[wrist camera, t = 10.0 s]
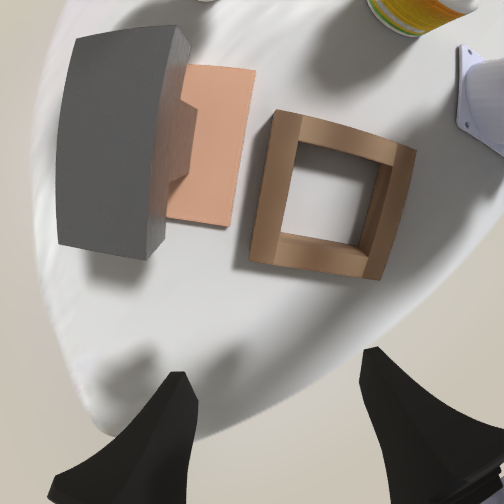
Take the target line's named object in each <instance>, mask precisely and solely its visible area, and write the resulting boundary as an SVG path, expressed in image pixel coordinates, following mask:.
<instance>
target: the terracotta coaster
mask: <svg viewBox="0 0 504 504" xmlns="http://www.w3.org/2000/svg"><path fill="white" fill-rule="evenodd" d="M255 75H256V70H249V69H241V68H232V67H222V66H210V65H192V64H187V67H186V72H185V77H184V82H183V87H182V93H181V98H180V99H181V100H182V101H184V102H186V103H188V104H189V105H191V106H193V107H194V108H196V109H198V113H197V120H196V126H195V132H194V139H193V146H192V154H191V161H190V169H189V173H188V174H186V175H184V176H182V177H180V178H178V179H175V180H173V181H171V182H169V189H168V200H167V214H166V217H169V218H175V219H182V220H189V221H196V222H202V223H209V224H215V225H222V226H228V227H230V223H231V216H232V209H233V203H234V196H235V190H236V184H237V178H238V171H239V165H240V159H241V153H242V147H243V142H244V136H245V130H246V124H247V119H248V113H249V108H250V102H251V97H252V91H253V86H254V81H255Z"/></svg>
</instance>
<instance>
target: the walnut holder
mask: <svg viewBox="0 0 504 504" xmlns="http://www.w3.org/2000/svg"><path fill="white" fill-rule="evenodd" d="M298 142H301V143H306V144H310V145H315V146H319V147H323V148H327V149H331V150H335V151H339V152H342V153H346V154H350V155H353V156H357V157H360V158H364V159H367V160H370V161H374V162H377V163H379V168H378V172H377V177H376V181H375V185H374V190H373V194H372V198H371V202H370V206H369V210H368V213H367V217H366V221H365V224H364V228H363V231H362V235H361V238H360V242H359V245H358V246H355V245H349V244H344V243H339V242H333V241H328V240H322V239H317V238H311V237H305V236H300V235H294V234H288V233H282V232H280V230H281V225H282V221H283V216H284V211H285V206H286V201H287V196H288V191H289V186H290V181H291V176H292V171H293V166H294V161H295V155H296V150H297V145H298ZM416 151H417V150H414V149H412V148H409V147H407V146H404V145H401V144H399V143H396V142H393V141H391V140H388V139H385V138H382V137H379V136H376V135H373V134H370V133H367V132H364V131H361V130H358V129H355V128H351V127H348V126H345V125H341V124H337V123H334V122H330V121H326V120H322V119H318V118H314V117H310V116H306V115H301V114H297V113H292V112H287V111H282V110H277V109H276V110H275V112H274V114H273V119H272V125H271V130H270V136H269V141H268V147H267V152H266V158H265V163H264V169H263V175H262V180H261V186H260V191H259V197H258V203H257V208H256V214H255V219H254V225H253V231H252V236H251V242H250V248H249V261H252V262H259V263H265V264H272V265H278V266H284V267H291V268H298V269H304V270H311V271H317V272H324V273H331V274H337V275H344V276H351V277H358V278H365V279H371V280H378V281H380V279H381V277H382V274H383V271H384V268H385V266H386V263H387V260H388V257H389V254H390V251H391V248H392V245H393V242H394V239H395V235H396V232H397V229H398V225H399V222H400V219H401V215H402V211H403V208H404V204H405V200H406V196H407V192H408V188H409V184H410V180H411V175H412V171H413V166H414V161H415V156H416Z"/></svg>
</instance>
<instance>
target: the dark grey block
mask: <svg viewBox="0 0 504 504" xmlns="http://www.w3.org/2000/svg"><path fill="white" fill-rule="evenodd" d="M190 49H191V45H190V44H189V42H188V41H187V39H186V38H185V36H184V35H183V34H182V32H181V31H180V29H179V28H178V27H177V25H168V26H152V27H141V28H132V29H125V30H118V31H112V32H106V33H101V34H96V35H91V36H86V37H82V38H78V39H76V41H75V45H74V48H73V52H72V56H71V60H70V64H69V68H68V72H67V77H66V82H65V87H64V92H63V98H62V105H61V112H60V119H59V128H58V138H57V152H56V219H57V233H58V243H59V244H60V245H65V246H70V247H75V248H80V249H86V250H91V251H96V252H101V253H107V254H112V255H117V256H123V257H128V258H134V259H140V260H145V261H147V259H148V258H149V257H150V256H151V255H152V253H153V252H154V251H155V250H156V249H157V248H158V246H159V245H160V244H161V243H162V242H163V241H164V239H165V229H166V214H167V200H168V189H169V182H171V181H173V180H175V179H178V178H180V177H182V176H184V175H186V174H188V173H189V169H190V161H191V154H192V146H193V139H194V132H195V126H196V120H197V113H198V109H196V108H194V107H193V106H191V105H189V104H188V103H186V102H184V101H182V100H181V99H180V98H181V93H182V87H183V82H184V77H185V72H186V67H187V63H188V58H189V54H190Z"/></svg>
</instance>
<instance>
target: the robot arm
mask: <svg viewBox="0 0 504 504" xmlns="http://www.w3.org/2000/svg"><path fill="white" fill-rule="evenodd" d="M468 52H469V53H468ZM459 56H460V72H459V96H458V109H457V119H456V123H457V125H458V127H459V128H460V129H462V130H464V131H465V132H467V133H469V134H470V135H472V136H473V137H475V138H477V139H478V140H480V141H481V142H483V143H484V144H486V145H487V146H489V147H490V148H492V149H493V150H494V151H496V152H497V153H499V154H500V155H501V156H503V157H504V58H501V59H495V60H489V61H486V60H485V59H484V58H482V57H481V56H480V55H478V54H477V53H476V52H475V51H473V50H472V49H470V48H469V47H468V46H466V45H465V44H461V45H459ZM465 123H466V126H465ZM359 384H360V389H361V392H362V396H363V400H364V404H365V406H366V409H367V411H368V414H369V417H370V419H371V422H372V424H373V427H374V430H375V432H376V435H377V438H378V441H379V443H380V446H381V449H382V453H383V458H384V463H385V467H386V472H387V477H388V484H389V492H390V500H391V504H504V476H503V477H502V478H500V477H499V474H500V473H501V468H500V465H501V464H502V463H503V462H504V429H502V428H498V427H494V426H491V425H488V424H485V423H483V422H480V421H477V420H475V419H473V418H471V417H468V416H467V415H464V414H462V413H460V412H458V411H456V410H455V409H453V408H451V407H450V406H448V405H446V404H445V403H443V402H442V401H440V400H439V399H437V398H436V397H434V396H433V395H432V394H430V393H429V392H428V391H426V390H425V389H424V388H423V387H421V386H420V385H419V384H418V383H417V382H415V381H414V380H413V379H412V378H411V377H410V376H409V375H407V374H406V373H405V372H404V371H403V370H402V369H401V368H400V367H399V366H398V365H397V364H395V363H394V362H393V361H392V360H391V359H390V358H389V357H388V356H387V355H386V354H385V353H384V352H383V351H382V350H381V349H380V348H379V347H378V346H377V347H373V348H369V349H364V351H363V358H362V365H361V372H360V378H359ZM197 417H198V399H197V397H196V395H195V393H194V391H193V389H192V387H191V384H190V382H189V380H188V378H187V376H186V374H185V371H184V372H170V373H169V375H168V376H167V377H166V379H165V380H164V381H163V383H162V384H161V385H160V387H159V388H158V390H157V391H156V392H155V394H154V395H153V396H152V398H151V399H150V400H149V401H148V403H147V404H146V405H145V406H144V408H143V409H142V410H141V411H140V413H139V414H138V415H137V416H136V417H135V418H134V419H133V420H132V422H131V423H130V424H129V425H128V426H127V427H126V428H125V429H124V430H123V431H122V432H121V433H120V434H119V435H118V436H117V437H116V438H115V439H114V440H113V441H111V442H110V443H109V444H108V445H107V446H105V447H104V448H103V449H102V450H100V451H99V452H97V453H96V454H95V455H93V456H92V457H90V458H89V459H87V460H86V461H84V462H82V463H80V464H79V465H77V466H75V467H73V468H71V469H69V470H67V471H65V472H63V473H60V474H58V475H56V476H55V477H54V480H53V482H52V485H51V488H50V490H49V493H48V496H47V498H48V499H49V500H50V501H52V502H53V503H55V504H186V488H187V472H188V465H189V460H190V455H191V450H192V445H193V440H194V435H195V430H196V425H197Z"/></svg>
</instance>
